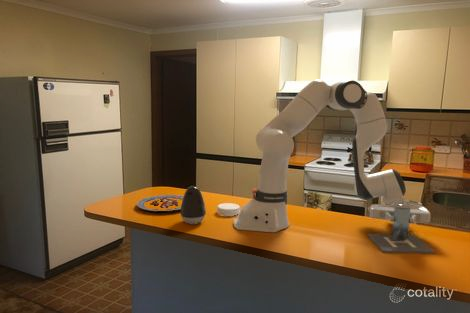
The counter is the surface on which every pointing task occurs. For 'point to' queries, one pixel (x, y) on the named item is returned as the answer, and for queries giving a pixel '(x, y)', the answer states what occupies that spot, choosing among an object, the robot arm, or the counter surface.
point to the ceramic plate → (163, 199)
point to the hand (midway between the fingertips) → (401, 220)
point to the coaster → (228, 209)
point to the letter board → (400, 244)
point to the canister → (401, 220)
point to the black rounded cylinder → (193, 206)
